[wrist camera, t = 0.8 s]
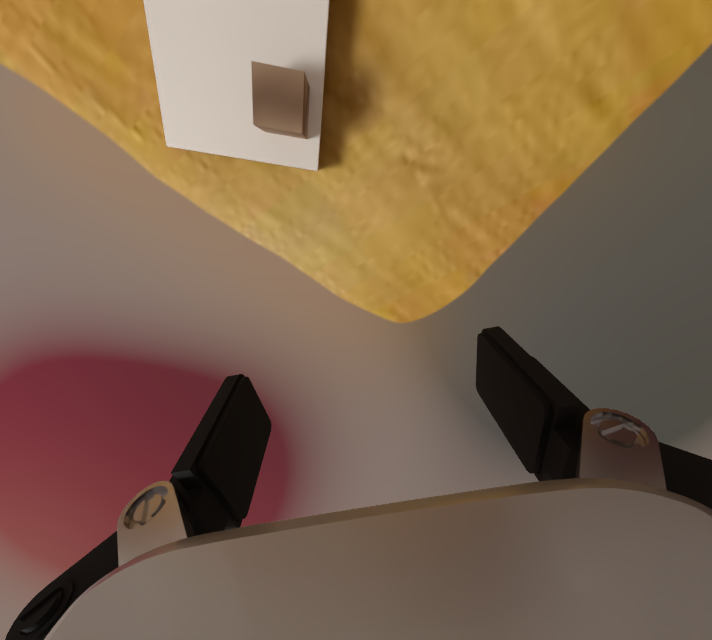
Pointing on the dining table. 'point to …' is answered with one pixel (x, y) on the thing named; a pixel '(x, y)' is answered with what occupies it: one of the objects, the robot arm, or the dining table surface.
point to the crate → (280, 100)
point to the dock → (235, 72)
